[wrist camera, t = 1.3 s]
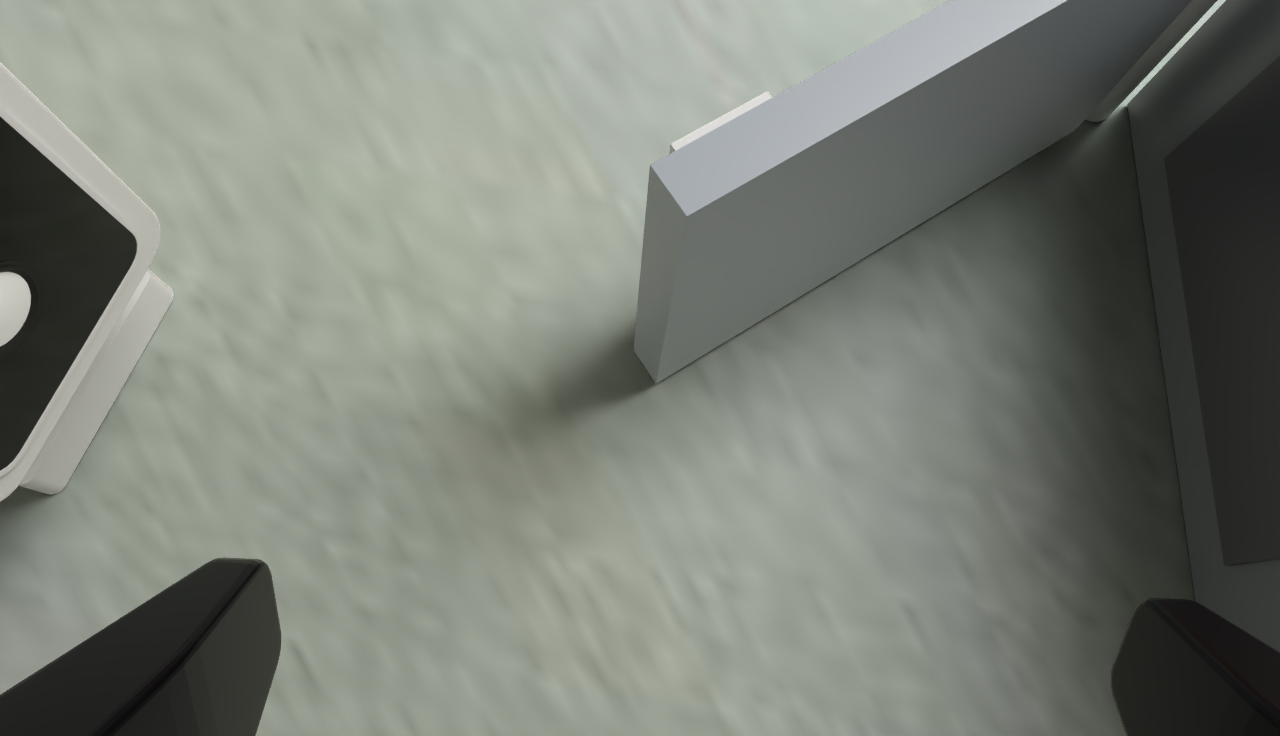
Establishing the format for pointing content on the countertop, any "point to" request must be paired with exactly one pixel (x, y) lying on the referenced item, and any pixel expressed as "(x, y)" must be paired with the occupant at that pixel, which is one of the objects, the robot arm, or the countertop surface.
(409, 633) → the countertop surface
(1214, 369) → the camera body
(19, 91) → the security camera
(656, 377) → the side door
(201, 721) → the robot arm
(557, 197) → the countertop surface
